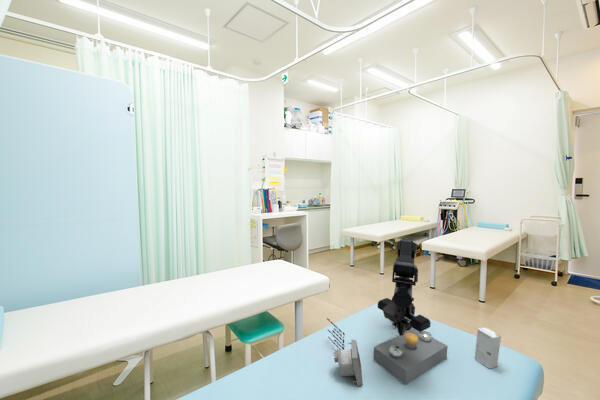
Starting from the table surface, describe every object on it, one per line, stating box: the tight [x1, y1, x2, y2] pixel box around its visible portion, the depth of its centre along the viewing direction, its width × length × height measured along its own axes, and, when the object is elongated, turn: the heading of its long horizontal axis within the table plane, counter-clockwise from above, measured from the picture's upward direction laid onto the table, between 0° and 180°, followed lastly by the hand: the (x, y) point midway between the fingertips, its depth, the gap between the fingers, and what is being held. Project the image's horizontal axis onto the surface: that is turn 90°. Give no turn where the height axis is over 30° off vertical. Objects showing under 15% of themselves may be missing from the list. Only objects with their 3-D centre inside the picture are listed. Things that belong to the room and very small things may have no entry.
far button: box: [419, 330, 432, 342], centre depth 103 cm, size 4×4×5 cm
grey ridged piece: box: [326, 317, 364, 387], centre depth 97 cm, size 27×11×10 cm, turn 26°
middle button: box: [405, 333, 418, 350], centre depth 98 cm, size 4×4×5 cm
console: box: [373, 328, 448, 385], centre depth 98 cm, size 14×25×5 cm, turn 122°
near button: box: [389, 345, 402, 359], centre depth 94 cm, size 4×4×5 cm
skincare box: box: [474, 326, 502, 369], centre depth 97 cm, size 6×4×12 cm
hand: (401, 335), depth 96 cm, fingers closed
